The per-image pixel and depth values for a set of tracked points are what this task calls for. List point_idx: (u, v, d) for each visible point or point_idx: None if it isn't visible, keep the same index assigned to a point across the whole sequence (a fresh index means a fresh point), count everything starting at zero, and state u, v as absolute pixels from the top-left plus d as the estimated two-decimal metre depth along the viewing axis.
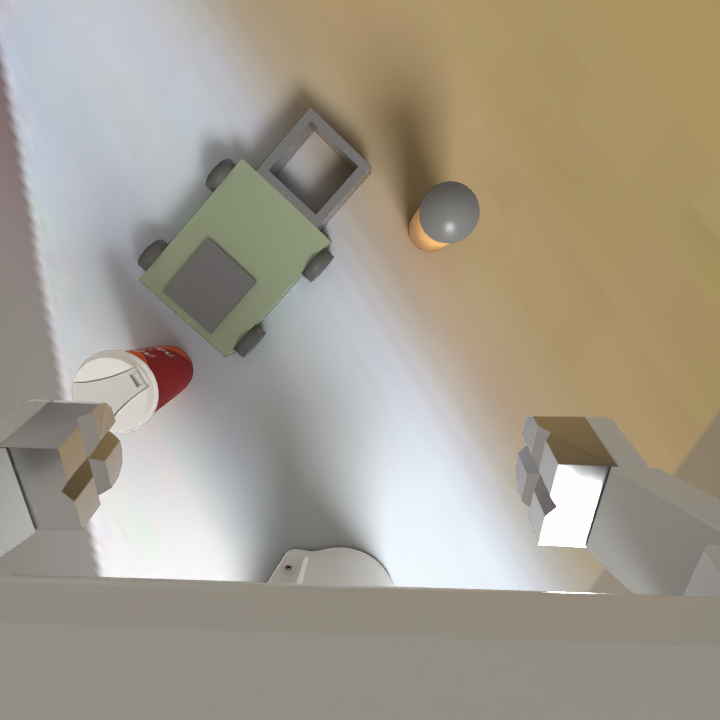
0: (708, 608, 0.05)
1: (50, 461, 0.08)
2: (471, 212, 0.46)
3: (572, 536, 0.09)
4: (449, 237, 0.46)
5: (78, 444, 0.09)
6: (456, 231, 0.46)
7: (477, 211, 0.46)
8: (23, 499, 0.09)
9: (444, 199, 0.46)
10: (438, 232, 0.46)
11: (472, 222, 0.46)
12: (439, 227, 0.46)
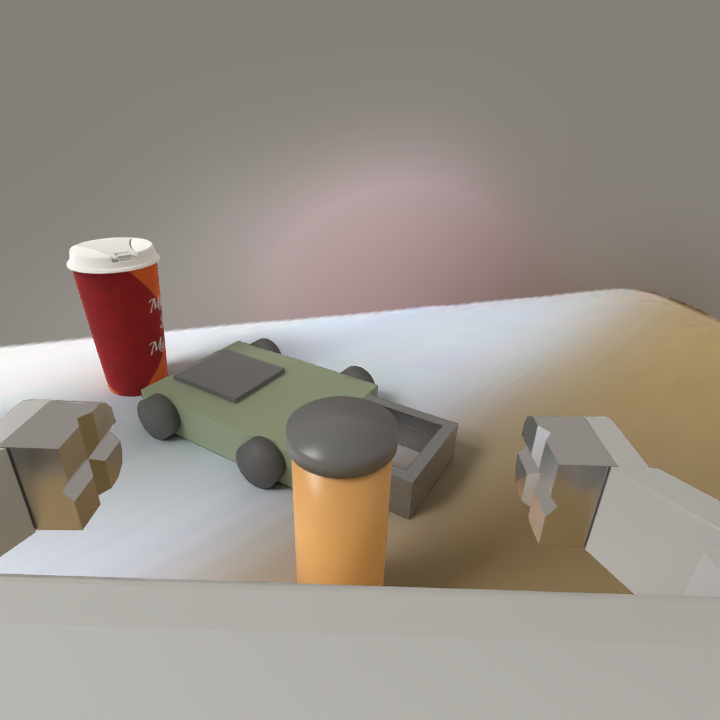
0: (708, 608, 0.05)
1: (50, 461, 0.08)
2: (349, 450, 0.23)
3: (572, 536, 0.09)
4: (295, 429, 0.24)
5: (78, 444, 0.09)
6: (308, 436, 0.23)
7: (353, 457, 0.22)
8: (23, 499, 0.09)
9: (362, 417, 0.25)
10: (302, 417, 0.25)
11: (330, 453, 0.22)
12: (312, 417, 0.25)
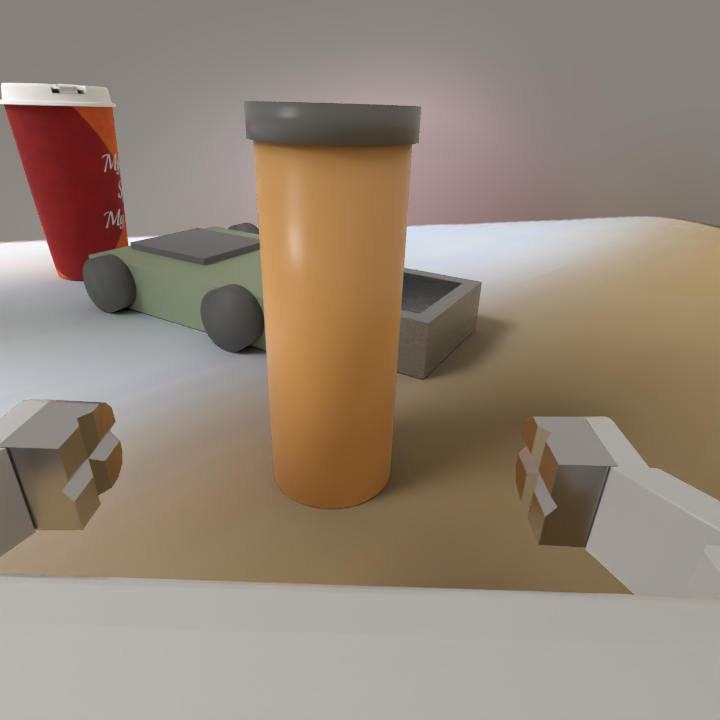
0: (708, 608, 0.05)
1: (50, 461, 0.08)
2: None
3: (572, 536, 0.09)
4: None
5: (78, 444, 0.09)
6: None
7: (351, 104, 0.13)
8: (23, 499, 0.09)
9: None
10: None
11: None
12: None
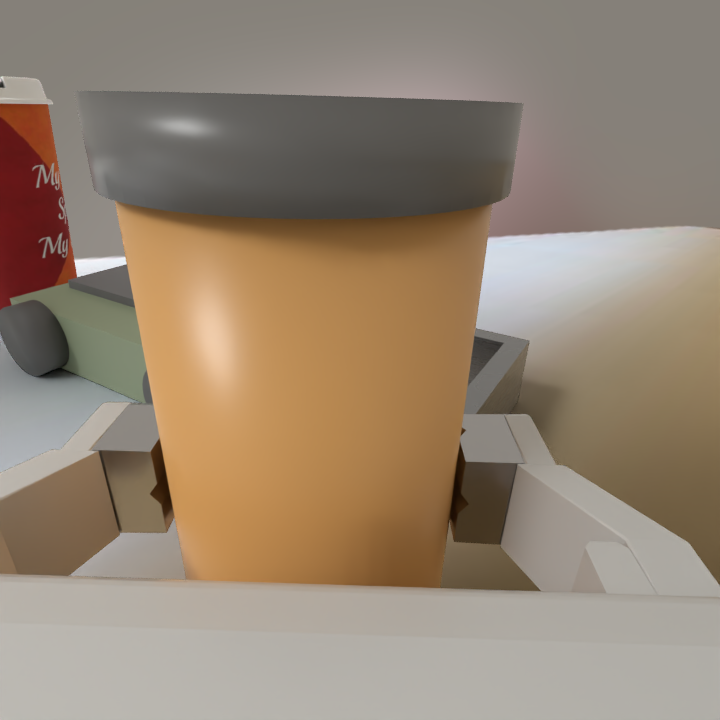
0: (708, 608, 0.05)
1: (140, 464, 0.08)
2: None
3: (486, 533, 0.09)
4: None
5: None
6: None
7: None
8: (111, 501, 0.09)
9: None
10: None
11: None
12: None
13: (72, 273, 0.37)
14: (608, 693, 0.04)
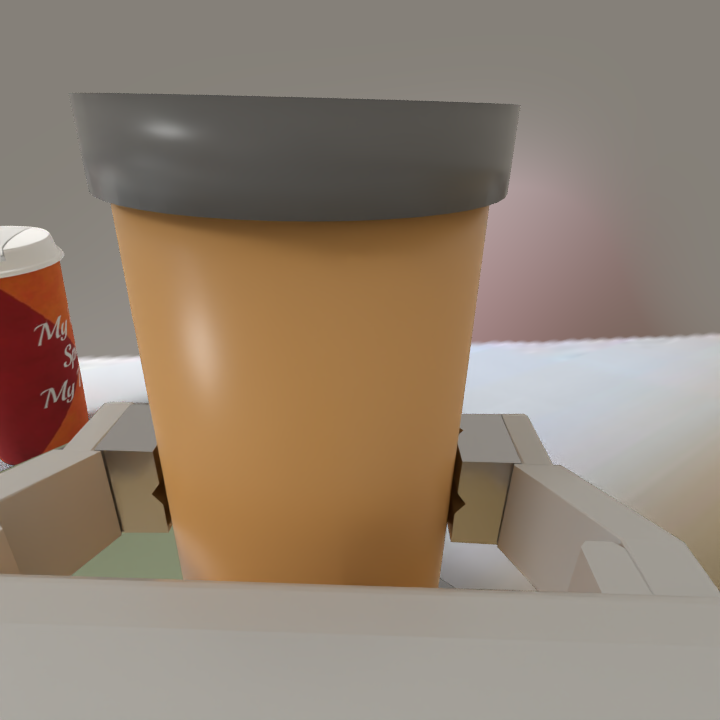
0: (709, 608, 0.05)
1: (143, 464, 0.08)
2: None
3: (483, 533, 0.09)
4: None
5: None
6: None
7: None
8: (113, 501, 0.09)
9: None
10: None
11: None
12: None
13: (79, 413, 0.36)
14: (608, 693, 0.04)
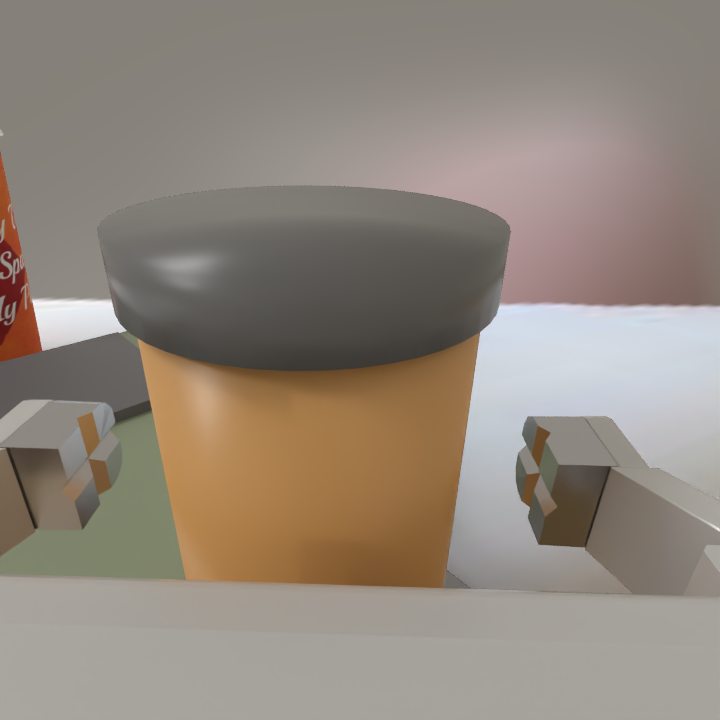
0: (708, 608, 0.05)
1: (50, 461, 0.08)
2: (331, 255, 0.05)
3: (572, 536, 0.09)
4: (139, 218, 0.07)
5: (78, 444, 0.09)
6: (176, 228, 0.06)
7: (349, 269, 0.05)
8: (23, 498, 0.09)
9: (380, 207, 0.08)
10: (183, 205, 0.08)
11: (246, 260, 0.05)
12: (214, 205, 0.08)
13: (24, 341, 0.30)
14: (608, 693, 0.04)
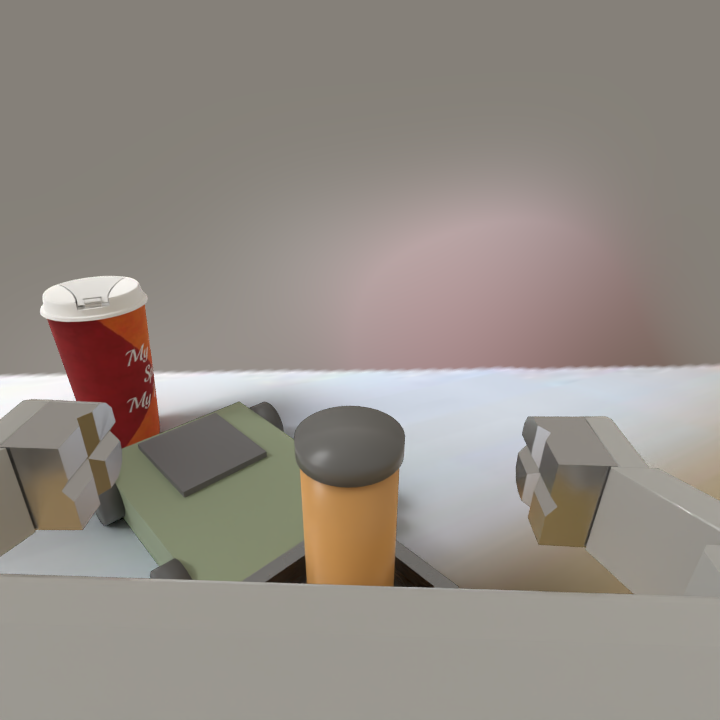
0: (708, 608, 0.05)
1: (50, 461, 0.08)
2: (357, 459, 0.23)
3: (572, 536, 0.09)
4: (303, 440, 0.24)
5: (78, 444, 0.09)
6: (316, 446, 0.24)
7: (361, 466, 0.23)
8: (24, 499, 0.09)
9: (369, 426, 0.25)
10: (310, 427, 0.25)
11: (338, 463, 0.23)
12: (319, 427, 0.25)
13: (153, 416, 0.47)
14: (608, 693, 0.04)
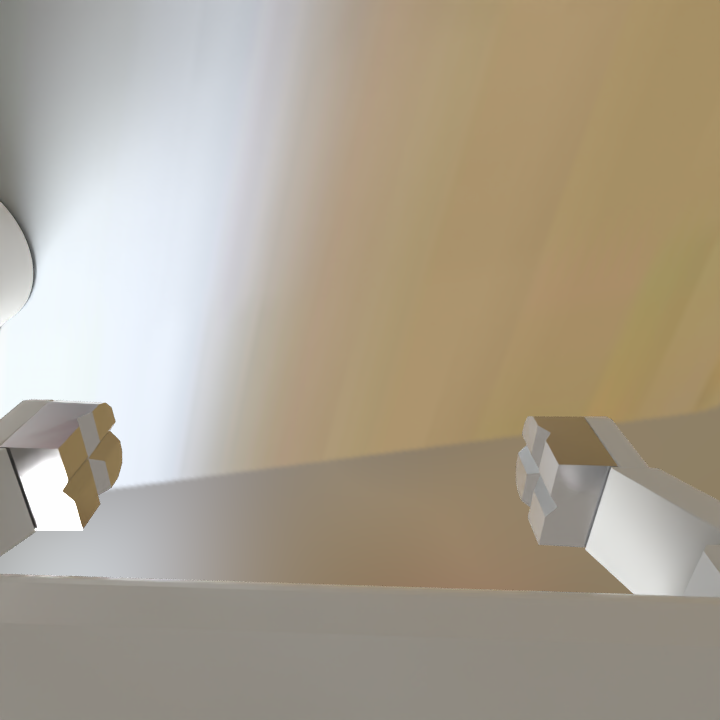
0: (709, 608, 0.05)
1: (50, 461, 0.08)
2: None
3: (572, 536, 0.09)
4: None
5: (78, 444, 0.09)
6: None
7: None
8: (24, 499, 0.09)
9: None
10: None
11: None
12: None
13: None
14: (608, 693, 0.04)
